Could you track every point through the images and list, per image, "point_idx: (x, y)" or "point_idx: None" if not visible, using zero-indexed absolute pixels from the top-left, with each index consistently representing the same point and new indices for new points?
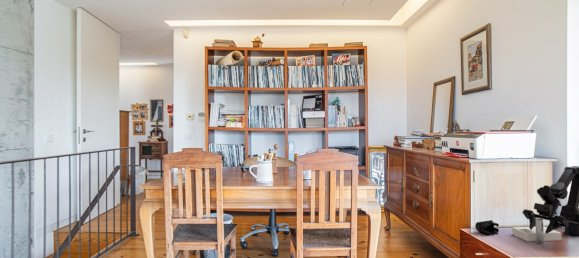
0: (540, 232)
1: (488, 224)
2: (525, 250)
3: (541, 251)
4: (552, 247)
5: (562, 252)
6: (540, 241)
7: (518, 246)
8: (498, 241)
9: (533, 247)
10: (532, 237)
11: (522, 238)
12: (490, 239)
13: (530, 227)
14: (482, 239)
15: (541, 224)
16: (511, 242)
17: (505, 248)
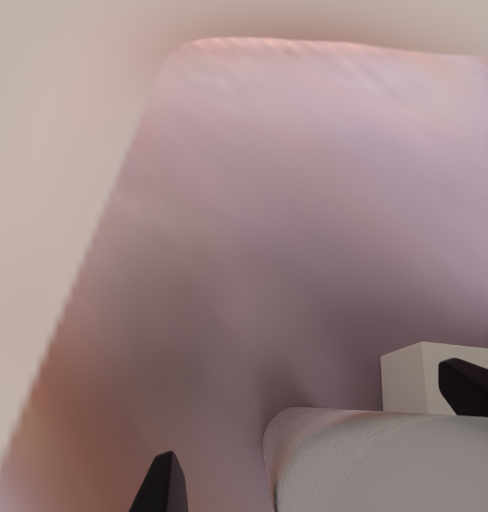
0: (277, 437)
1: None
2: (165, 160)
3: (109, 254)
4: None
5: (13, 431)
6: (272, 422)
7: (252, 173)
8: (381, 118)
9: (206, 268)
10: None
11: None
12: (430, 97)
13: (457, 367)
14: (428, 55)
15: (283, 510)
16: (352, 188)
17: (233, 76)
